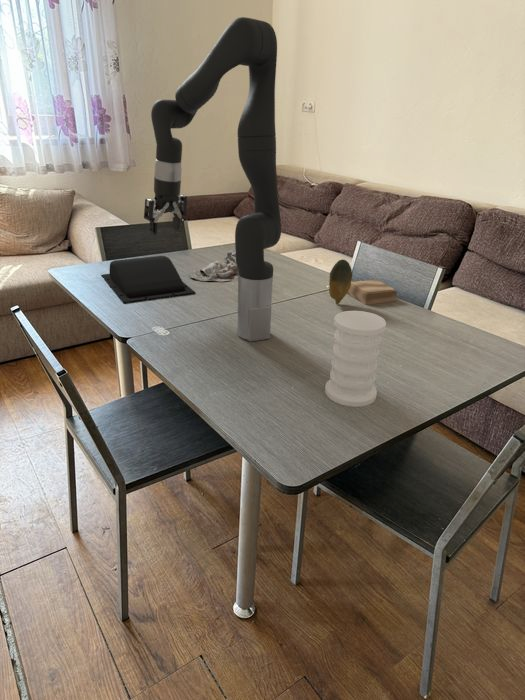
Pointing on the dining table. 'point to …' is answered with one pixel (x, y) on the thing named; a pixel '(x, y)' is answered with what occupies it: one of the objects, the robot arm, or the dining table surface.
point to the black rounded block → (145, 279)
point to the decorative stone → (340, 280)
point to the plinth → (372, 292)
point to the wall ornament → (219, 270)
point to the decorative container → (355, 358)
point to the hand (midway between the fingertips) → (164, 231)
